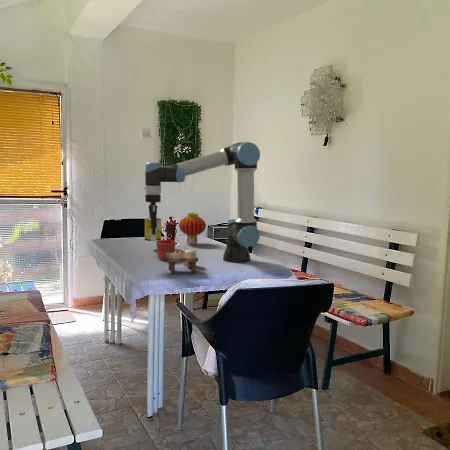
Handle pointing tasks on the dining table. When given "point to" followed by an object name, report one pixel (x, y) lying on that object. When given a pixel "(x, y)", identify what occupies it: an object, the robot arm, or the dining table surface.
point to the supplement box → (148, 229)
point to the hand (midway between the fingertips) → (152, 239)
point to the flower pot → (165, 248)
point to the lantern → (192, 227)
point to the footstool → (182, 260)
